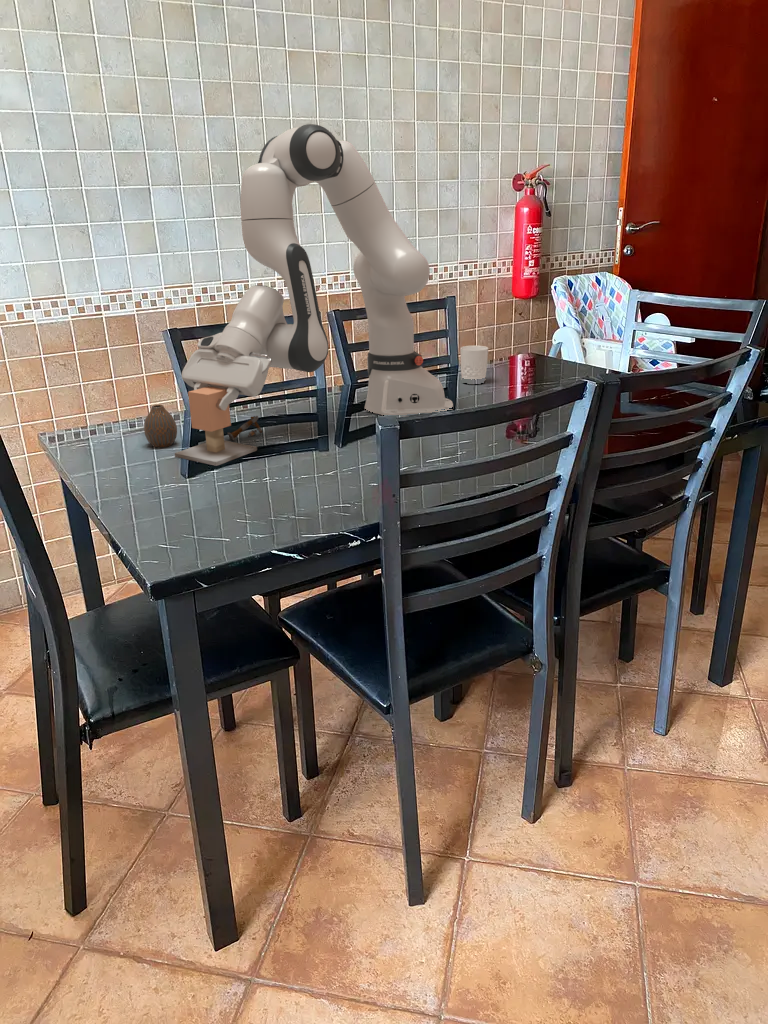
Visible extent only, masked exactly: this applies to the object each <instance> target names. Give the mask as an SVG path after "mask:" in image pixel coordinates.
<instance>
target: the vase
mask: <svg viewBox="0 0 768 1024" xmlns="http://www.w3.org/2000/svg"><path fill="white" fill-rule="evenodd" d="M150 408H151V409H150V411H149V412H148V414H147V416H146V417H145V420H144V423H143V430H144V431H143V432H144V436H145V439H146V441H147V442H148V443H149V444H150V445H151V446H153V447H154V448H165V447H167V448H168V447H169V446H172V445H173V444H174V442H175V441H176V439H177V435H178V426H177V423H176V421H175V418H174V416H173V415H172V414H171V413H170V412H169V411H168V410H167V409H166V408H165V406H164V405H163V404H154V405H152V406H151V407H150Z"/></svg>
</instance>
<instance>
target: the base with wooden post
mask: <svg viewBox="0 0 768 1024" xmlns="http://www.w3.org/2000/svg"><path fill="white" fill-rule="evenodd" d="M204 433H205V434H204V435H205V442H203V443H200V444H197V445H195V446H192V447H189V448H186V449H183V450H180V451H176V452H175V453H174V456H175V458H179V459H185V460H189V461H193V462H198V463H200V464H201V463H202V464H207V465H211V466H215V467H217V466H220V465H223V464H225V463H228V462H231V461H233V460H235V459H239V458H241V457H244V456H246V455H248V454H251V453H254V452H257V451H258V447H257V446H255V445H250V444H244V443H240V442H234V441H231V440H226V439H225V436H224V428H222V429H219V430H216V431H212V432H210V431H205V430H204Z"/></svg>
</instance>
